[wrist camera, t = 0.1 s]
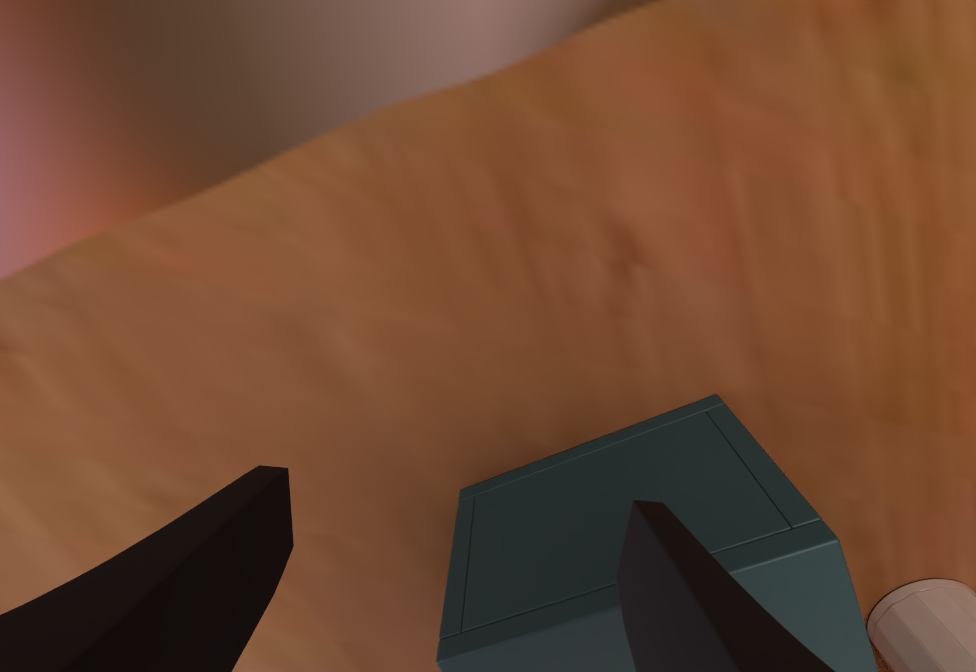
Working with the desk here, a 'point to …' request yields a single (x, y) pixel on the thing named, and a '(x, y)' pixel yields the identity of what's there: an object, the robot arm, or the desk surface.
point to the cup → (926, 627)
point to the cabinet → (600, 537)
